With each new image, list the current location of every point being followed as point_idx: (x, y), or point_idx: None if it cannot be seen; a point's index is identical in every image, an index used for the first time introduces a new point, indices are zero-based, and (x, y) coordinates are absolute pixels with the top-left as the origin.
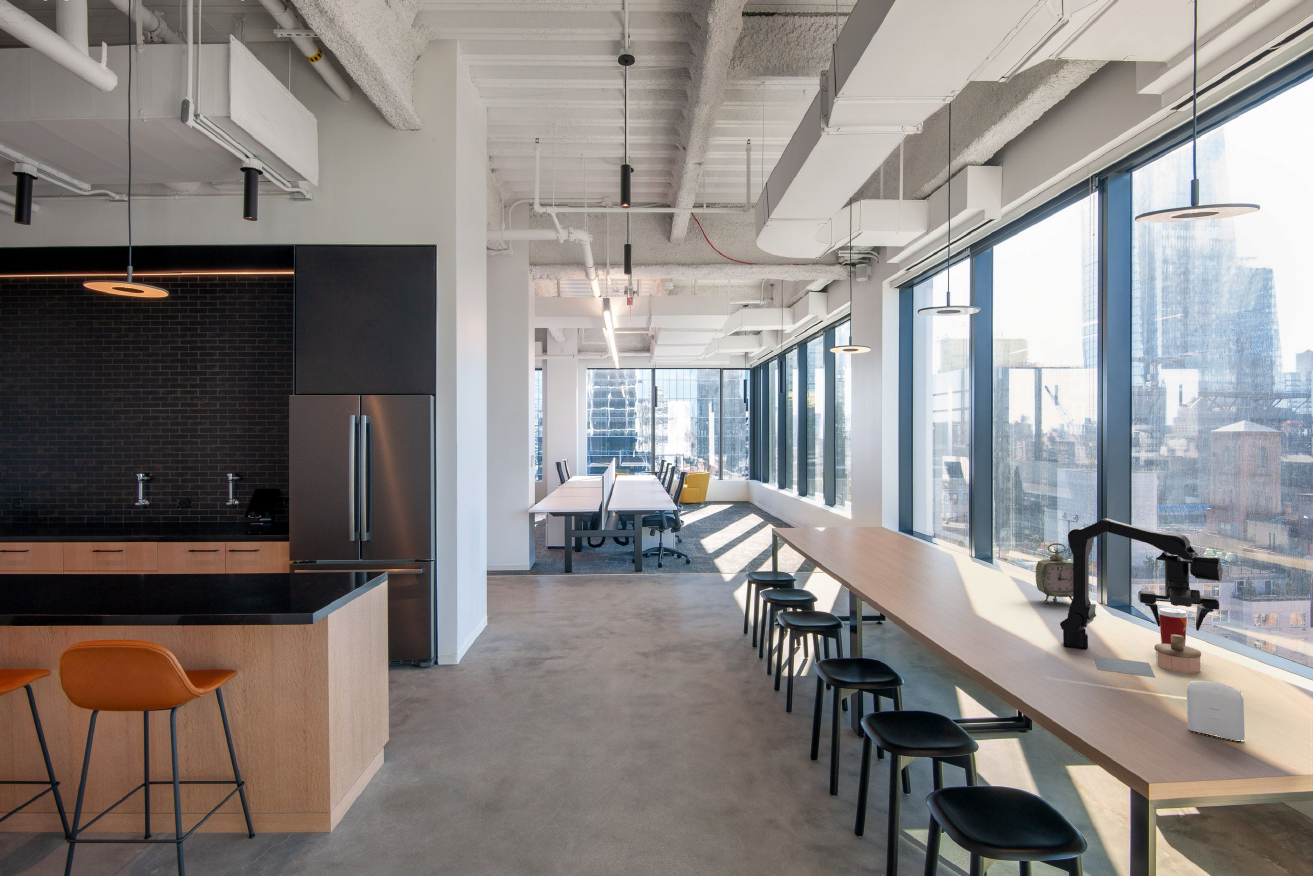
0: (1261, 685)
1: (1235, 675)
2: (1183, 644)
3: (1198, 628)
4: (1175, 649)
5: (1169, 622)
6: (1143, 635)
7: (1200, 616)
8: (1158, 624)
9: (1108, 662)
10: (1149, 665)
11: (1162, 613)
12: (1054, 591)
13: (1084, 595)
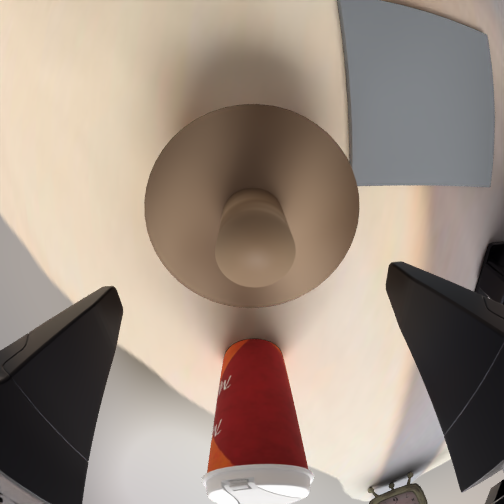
0: (25, 156)
1: (80, 222)
2: (220, 222)
3: (95, 293)
4: (264, 190)
5: (273, 440)
6: (303, 442)
7: (13, 360)
8: (409, 266)
9: (469, 122)
10: (354, 145)
11: (302, 475)
12: (402, 493)
13: None
